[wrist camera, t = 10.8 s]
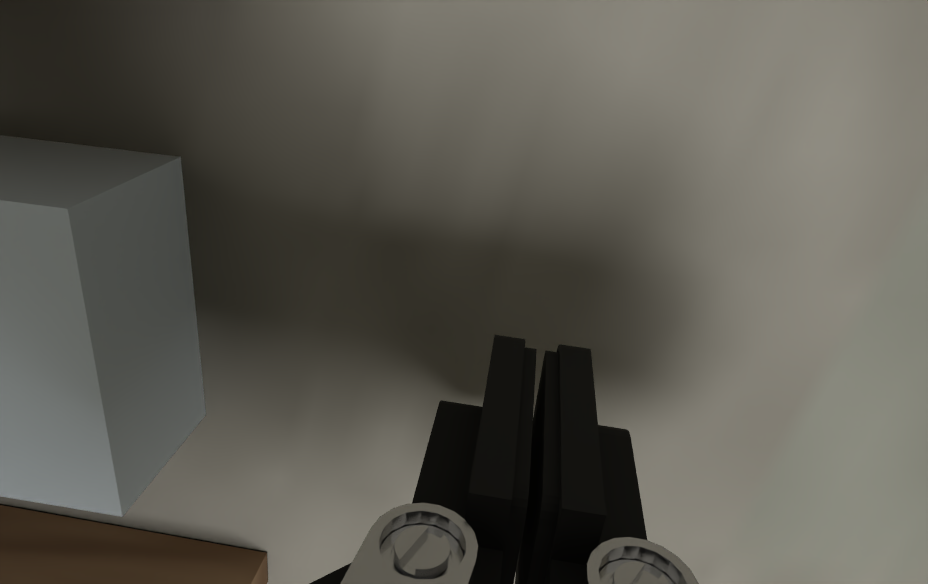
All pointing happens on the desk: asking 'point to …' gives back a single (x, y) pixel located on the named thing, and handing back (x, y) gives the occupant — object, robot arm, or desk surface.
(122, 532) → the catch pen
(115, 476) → the tile trail
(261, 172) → the desk surface
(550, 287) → the desk surface
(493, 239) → the desk surface
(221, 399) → the desk surface
